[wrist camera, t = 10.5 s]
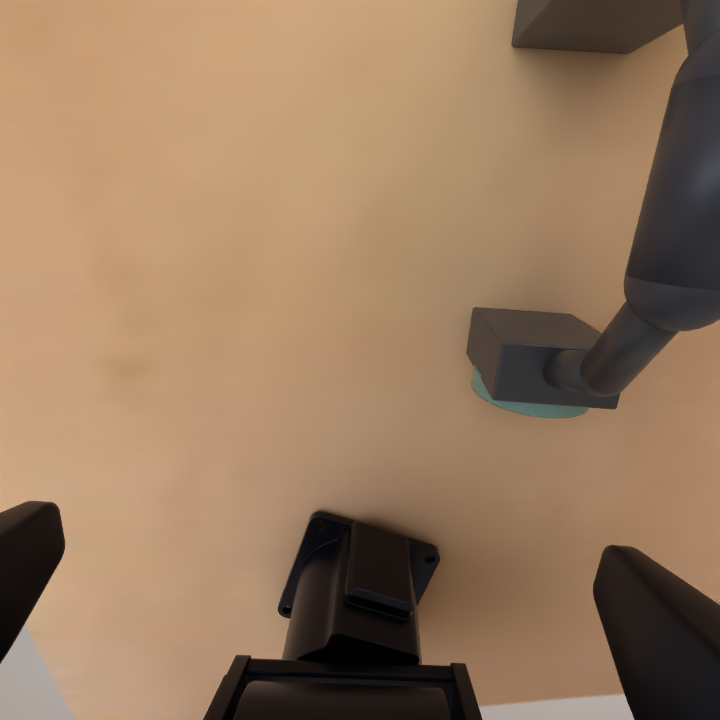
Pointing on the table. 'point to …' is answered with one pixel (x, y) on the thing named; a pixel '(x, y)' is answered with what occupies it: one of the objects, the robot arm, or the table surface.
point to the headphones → (653, 233)
